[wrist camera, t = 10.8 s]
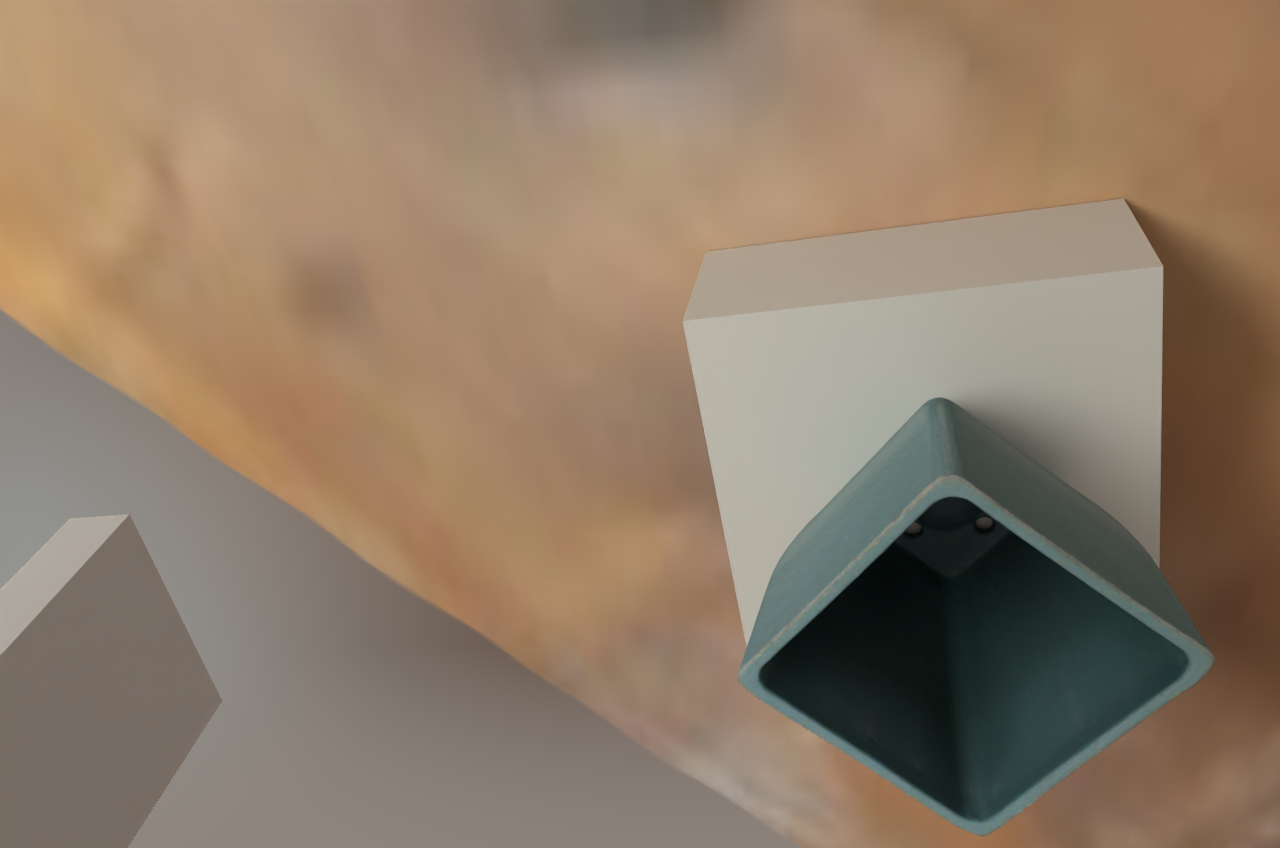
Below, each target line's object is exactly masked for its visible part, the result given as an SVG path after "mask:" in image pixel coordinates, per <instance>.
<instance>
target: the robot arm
mask: <svg viewBox="0 0 1280 848" xmlns="http://www.w3.org/2000/svg"><path fill="white" fill-rule="evenodd" d="M221 702H222V699H221V697H220V695H219V693H218V691H217V689H216V687H215V685H214V683H213V681H212V679H211V677H210V675H209V673H208V671H207V669H206V667H205V665H204V663H203V661H202V659H201V657H200V655H199V653H198V651H197V649H196V647H195V645H194V643H193V641H192V639H191V637H190V635H189V633H188V631H187V629H186V627H185V625H184V623H183V621H182V619H181V617H180V615H179V613H178V611H177V609H176V607H175V605H174V603H173V601H172V599H171V597H170V595H169V593H168V591H167V589H166V587H165V585H164V582H163V581H162V579H161V576H160V574H159V572H158V570H157V568H156V567H155V564H154V562H153V560H152V558H151V556H150V554H149V552H148V550H147V548H146V546H145V544H144V542H143V540H142V538H141V536H140V534H139V532H138V530H137V528H136V526H135V524H134V522H133V520H132V518H131V516H130V514H126V515H113V516H100V517H87V518H75V519H69V520H68V521H67V522H66V523H65V524H64V525H63V526H62V527H61V528H60V529H59V530H58V531H57V532H56V533H55V534H54V535H53V536H52V537H51V538H50V539H49V540H48V541H47V543H46V544H45V545H44V546H42V548H40V549H39V551H38V552H37V553H36V554H35V555H34V556H33V557H32V558H31V559H30V560H29V561H28V562H27V563H26V564H25V565H24V566H23V567H22V568H21V569H20V570H19V571H18V572H17V573H16V574H15V575H14V576H13V577H12V578H11V579H10V580H9V581H8V582H7V583H6V584H5V585H4V586H3V587H2V588H1V589H0V848H128V846H129V844H130V843H131V841H132V840H133V838H134V837H135V835H136V834H137V832H138V830H139V829H140V827H141V826H142V824H143V823H144V821H145V820H146V818H147V817H148V815H149V813H150V812H151V810H152V809H153V807H154V806H155V804H156V803H157V801H158V799H159V798H160V796H161V795H162V793H163V792H164V790H165V789H166V787H167V786H168V784H169V783H170V781H171V779H172V778H173V776H174V775H175V773H176V771H177V770H178V769H179V767H180V765H181V764H182V762H183V761H184V759H185V758H186V756H187V754H188V753H189V752H190V750H191V748H192V747H193V745H194V744H195V742H196V741H197V739H198V738H199V736H200V734H201V733H202V731H203V730H204V728H205V727H206V725H207V724H208V722H209V721H210V719H211V717H212V716H213V714H214V713H215V711H216V710H217V708H218V707H219V705H220V703H221Z"/></svg>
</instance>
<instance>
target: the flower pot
mask: <svg viewBox="0 0 1280 848" xmlns="http://www.w3.org/2000/svg"><path fill="white" fill-rule="evenodd" d="M982 517H988V518H990V519H991V520H992V521H993V523H992V525H991V527H990V528H986V529H981V528H979V527H978V526H977V525H976V521H977V520H978V519H979V518H982ZM914 522H916V523H918V524H919V525H921V530H920V532H918V533H916V534H910V533H908V532H907V531H906V530H907V529H908V528H909V527H910V526H911V525H912V524H913V523H914ZM1214 663H1215V659H1214V657H1213V655H1212V653H1211V651H1210V649H1209V648H1208V646H1207V645H1206V643H1205V641H1204V640H1203V638H1202V636H1201V635H1200V633H1199V632H1198V630H1197V628H1196V627H1195V625H1194V623H1193V622H1192V620H1191V619H1190V617H1189V615H1188V614H1187V612H1186V610H1185V609H1184V607H1183V606H1182V604H1181V602H1180V601H1179V599H1178V597H1177V596H1176V594H1175V593H1174V591H1173V590H1172V588H1171V586H1170V585H1169V583H1168V582H1167V580H1166V579H1165V577H1164V575H1163V574H1162V572H1161V571H1160V569H1159V568H1158V566H1157V565H1156V563H1155V562H1154V560H1153V559H1152V557H1151V556H1150V554H1149V553H1148V552H1147V551H1146V549H1145V548H1144V547H1143V546H1142V545H1141V544H1140V543H1139V541H1138V540H1137V539H1136V538H1135V537H1134V536H1133V535H1132V534H1131V533H1130V532H1129V531H1128V530H1127V529H1126V528H1125V527H1124V526H1123V525H1122V524H1121V523H1119V522H1118V521H1117V520H1116V519H1115V518H1114V517H1112V516H1111V515H1110V514H1109V513H1107V512H1106V511H1105V510H1103V509H1102V508H1101V507H1099V506H1098V505H1097V504H1095V503H1094V502H1093V501H1091V500H1090V499H1088V498H1087V497H1086V496H1084V495H1083V494H1081V493H1080V492H1078V491H1077V490H1075V489H1074V488H1072V487H1071V486H1069V485H1068V484H1067V483H1065V482H1064V481H1062V480H1061V479H1060V478H1058V477H1057V476H1055V475H1054V474H1052V473H1051V472H1050V471H1048V470H1047V469H1045V468H1044V467H1043V466H1041V465H1040V464H1038V463H1037V462H1036V461H1034V460H1033V459H1031V458H1030V457H1029V456H1027V455H1026V454H1024V453H1023V452H1022V451H1020V450H1019V449H1017V448H1016V447H1015V446H1013V445H1012V444H1010V443H1009V442H1008V441H1006V440H1005V439H1003V438H1002V437H1001V436H999V435H998V434H997V433H995V432H994V431H992V430H991V429H990V428H988V427H987V426H985V425H984V424H983V423H981V422H980V421H979V420H977V419H976V418H975V417H973V416H972V415H971V414H969V413H968V412H966V411H965V410H964V409H962V408H961V407H960V406H958V405H957V404H955V403H954V402H952V401H951V400H949V399H946V398H942V397H938V398H933V399H930V400H928V401H927V402H926V403H924V404H923V405H922V406H921V407H920V408H919V409H918V410H917V411H916V412H915V413H914V414H913V415H912V416H911V417H910V418H909V420H908V421H907V422H906V423H905V424H904V425H903V426H902V427H901V428H900V429H899V430H898V431H897V432H896V433H895V434H894V435H893V436H892V437H891V438H890V439H889V440H888V441H887V442H886V443H885V445H884V446H883V447H882V448H881V449H880V450H879V451H878V452H877V453H876V454H875V455H874V456H873V457H872V458H871V459H870V460H869V461H868V462H867V463H866V464H865V466H864V467H863V468H862V469H861V470H860V471H859V472H858V473H857V474H856V475H855V476H854V477H853V478H852V479H851V480H850V481H849V482H848V483H847V484H846V485H845V486H844V487H843V488H842V489H841V490H840V491H839V492H838V493H837V494H836V495H835V497H834V498H833V499H832V500H831V501H830V502H829V503H828V504H827V505H826V506H825V507H824V508H823V509H822V510H821V511H820V512H819V513H818V514H817V515H816V516H815V517H814V518H813V519H812V520H811V521H810V522H809V523H808V524H807V525H806V526H805V527H804V528H803V529H802V530H801V531H800V533H799V534H798V535H797V536H796V537H795V539H794V540H793V541H792V542H791V543H790V545H789V546H788V547H787V549H786V550H785V552H784V553H783V555H782V556H781V558H780V560H779V561H778V563H777V565H776V567H775V569H774V571H773V573H772V576H771V578H770V581H769V583H768V586H767V589H766V591H765V594H764V597H763V600H762V603H761V606H760V609H759V612H758V615H757V618H756V621H755V624H754V627H753V630H752V633H751V636H750V639H749V642H748V645H747V648H746V651H745V654H744V657H743V660H742V663H741V666H740V669H739V671H738V682H739V683H740V684H741V685H742V686H743V687H744V688H745V689H746V690H747V691H749V692H750V693H751V694H752V695H754V696H755V697H757V698H758V699H759V700H761V701H762V702H763V703H766V704H767V705H768V706H770V707H772V708H773V709H775V710H776V711H778V712H780V713H782V714H783V715H784V716H786V717H788V718H789V719H791V720H792V721H794V722H796V723H798V724H799V725H801V726H802V727H804V728H806V729H807V730H809V731H811V732H812V733H814V734H816V735H817V736H819V738H822V739H824V740H825V741H826V742H828V743H830V744H832V745H833V746H835V747H836V748H837V749H839V750H841V751H842V752H844V753H845V754H847V755H849V756H850V757H852V758H853V759H854V760H857V761H858V762H860V763H861V764H863V765H865V766H866V767H868V768H869V769H871V770H872V771H874V772H875V773H877V774H878V775H879V776H880V777H882V778H884V779H886V780H888V781H889V782H890V783H892V784H893V785H894V786H896V787H897V788H898V789H900V790H902V791H903V792H904V793H906V794H907V795H909V796H910V797H912V798H914V799H916V800H917V801H918V802H920V803H921V804H923V805H924V806H926V807H927V808H929V809H931V810H932V811H933V812H935V813H936V814H938V815H939V816H941V817H942V818H944V819H946V820H947V821H949V822H950V823H952V824H954V825H955V826H956V827H959V828H961V829H963V830H965V831H968V832H970V833H973V834H976V835H979V836H986V835H988V834H990V833H991V832H993V831H995V830H996V829H998V828H999V827H1001V826H1004V825H1005V824H1006V823H1007V822H1008V821H1009V820H1010V819H1012V818H1013V817H1015V816H1016V815H1017V814H1019V813H1021V812H1022V811H1023V810H1024V809H1025V808H1027V807H1028V806H1030V805H1031V804H1033V803H1034V802H1035V801H1036V800H1037V799H1038V798H1040V797H1041V796H1043V794H1044V793H1045V792H1046V791H1048V790H1050V789H1052V788H1053V787H1054V786H1055V785H1056V784H1057V783H1059V782H1060V781H1062V780H1063V779H1064V778H1066V777H1067V776H1069V775H1070V774H1071V773H1073V772H1074V771H1075V770H1076V769H1077V768H1079V767H1081V766H1082V765H1083V764H1084V763H1086V762H1088V761H1089V760H1090V759H1091V758H1093V757H1094V756H1096V755H1097V754H1098V753H1100V752H1101V751H1102V750H1104V749H1105V748H1106V747H1108V746H1109V745H1111V744H1112V743H1113V742H1114V741H1116V740H1117V739H1118V738H1120V737H1121V736H1123V735H1124V734H1125V733H1127V732H1128V731H1130V730H1131V729H1132V728H1133V727H1135V726H1136V725H1137V724H1138V723H1140V722H1141V721H1143V720H1144V719H1146V718H1147V717H1149V716H1150V715H1151V714H1153V713H1154V712H1155V711H1156V710H1158V709H1160V708H1161V707H1163V706H1164V705H1165V704H1167V703H1168V702H1169V701H1171V700H1172V699H1174V698H1175V697H1178V696H1179V695H1180V694H1181V693H1183V692H1184V691H1185V690H1187V689H1189V688H1191V687H1192V686H1194V685H1195V684H1196V683H1197V682H1198V681H1200V680H1201V679H1202V678H1203V677H1204V676H1205V675H1206V674H1207V673H1208V672H1209V670H1210V669H1211V667H1212V666H1213V664H1214Z"/></svg>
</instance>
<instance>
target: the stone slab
mask: <svg viewBox="0 0 1280 848" xmlns="http://www.w3.org/2000/svg"><path fill="white" fill-rule="evenodd" d="M683 325H684V330H685V335H686V340H687V345H688V350H689V355H690V361H691V366H692V371H693V376H694V381H695V386H696V391H697V396H698V401H699V406H700V412H701V417H702V422H703V427H704V432H705V437H706V442H707V447H708V452H709V457H710V463H711V468H712V473H713V478H714V483H715V488H716V493H717V498H718V503H719V508H720V514H721V519H722V524H723V529H724V534H725V539H726V544H727V549H728V554H729V559H730V565H731V570H732V575H733V580H734V585H735V590H736V595H737V600H738V605H739V610H740V616H741V621H742V626H743V631H744V636H745V641H746V646H747V645H748V642H749V639H750V636H751V633H752V630H753V627H754V624H755V621H756V618H757V615H758V612H759V609H760V606H761V603H762V600H763V597H764V594H765V591H766V589H767V586H768V583H769V581H770V578H771V576H772V573H773V571H774V569H775V567H776V565H777V563H778V561H779V560H780V558H781V556H782V555H783V553H784V552H785V550H786V549H787V547H788V546H789V545H790V543H791V542H792V541H793V540H794V539H795V537H796V536H797V535H798V534H799V533H800V531H801V530H802V529H803V528H804V527H805V526H806V525H807V524H808V523H809V522H810V521H811V520H812V519H813V518H814V517H815V516H816V515H817V514H818V513H819V512H820V511H821V510H822V509H823V508H824V507H825V506H826V505H827V504H828V503H829V502H830V501H831V500H832V499H833V498H834V497H835V495H836V494H837V493H838V492H839V491H840V490H841V489H842V488H843V487H844V486H845V485H846V484H847V483H848V482H849V481H850V480H851V479H852V478H853V477H854V476H855V475H856V474H857V473H858V472H859V471H860V470H861V469H862V468H863V467H864V466H865V464H866V463H867V462H868V461H869V460H870V459H871V458H872V457H873V456H874V455H875V454H876V453H877V452H878V451H879V450H880V449H881V448H882V447H883V446H884V445H885V443H886V442H887V441H888V440H889V439H890V438H891V437H892V436H893V435H894V434H895V433H896V432H897V431H898V430H899V429H900V428H901V427H902V426H903V425H904V424H905V423H906V422H907V421H908V420H909V418H910V417H911V416H912V415H913V414H914V413H915V412H916V411H917V410H918V409H919V408H920V407H921V406H922V405H923V404H924V403H926V402H927V401H928V400H930V399H933V398H938V397H942V398H946V399H949V400H951V401H952V402H954V403H955V404H957V405H958V406H960V407H961V408H962V409H964V410H965V411H966V412H968V413H969V414H971V415H972V416H973V417H975V418H976V419H977V420H979V421H980V422H981V423H983V424H984V425H985V426H987V427H988V428H990V429H991V430H992V431H994V432H995V433H997V434H998V435H999V436H1001V437H1002V438H1003V439H1005V440H1006V441H1008V442H1009V443H1010V444H1012V445H1013V446H1015V447H1016V448H1017V449H1019V450H1020V451H1022V452H1023V453H1024V454H1026V455H1027V456H1029V457H1030V458H1031V459H1033V460H1034V461H1036V462H1037V463H1038V464H1040V465H1041V466H1043V467H1044V468H1045V469H1047V470H1048V471H1050V472H1051V473H1052V474H1054V475H1055V476H1057V477H1058V478H1060V479H1061V480H1062V481H1064V482H1065V483H1067V484H1068V485H1069V486H1071V487H1072V488H1074V489H1075V490H1077V491H1078V492H1080V493H1081V494H1083V495H1084V496H1086V497H1087V498H1088V499H1090V500H1091V501H1093V502H1094V503H1095V504H1097V505H1098V506H1099V507H1101V508H1102V509H1103V510H1105V511H1106V512H1107V513H1109V514H1110V515H1111V516H1112V517H1114V518H1115V519H1116V520H1117V521H1118V522H1119V523H1121V524H1122V525H1123V526H1124V527H1125V528H1126V529H1127V530H1128V531H1129V532H1130V533H1131V534H1132V535H1133V536H1134V537H1135V538H1136V539H1137V540H1138V541H1139V543H1140V544H1141V545H1142V546H1143V547H1144V548H1145V549H1146V551H1147V552H1148V553H1149V554H1150V556H1151V557H1152V559H1153V560H1154V562H1155V563H1156V565H1157V566H1158V568H1159V569H1160V494H1161V412H1162V331H1163V265H1162V263H1161V261H1160V260H1159V258H1158V256H1157V255H1156V253H1155V251H1154V249H1153V248H1152V246H1151V244H1150V243H1149V241H1148V239H1147V238H1146V236H1145V234H1144V232H1143V231H1142V229H1141V227H1140V226H1139V224H1138V222H1137V220H1136V219H1135V217H1134V215H1133V214H1132V212H1131V210H1130V208H1129V207H1128V205H1127V203H1126V202H1125V200H1124V198H1123V199H1115V200H1107V201H1099V202H1092V203H1084V204H1076V205H1068V206H1060V207H1053V208H1045V209H1037V210H1029V211H1021V212H1014V213H1006V214H998V215H990V216H982V217H975V218H967V219H959V220H951V221H943V222H936V223H928V224H920V225H912V226H904V227H897V228H889V229H881V230H873V231H865V232H857V233H850V234H842V235H834V236H826V237H818V238H811V239H803V240H795V241H787V242H779V243H772V244H764V245H756V246H748V247H740V248H733V249H725V250H717V251H709V252H706V253H705V256H704V259H703V262H702V265H701V268H700V271H699V274H698V277H697V280H696V283H695V286H694V289H693V292H692V295H691V298H690V301H689V304H688V307H687V310H686V313H685V316H684V319H683ZM992 523H993V521H992V520H991V519H990V518H988V517H982V518H979V519H978V520H977V521H976V525H977V526H978V527H979V528H981V529H986V528H990V527H991V525H992ZM920 530H921V525H919V524H918V523H916V522H914V523H913V524H912V525H911V526H910V527H909V528H908V529H907V530H906V531H907V532H908V533H910V534H916V533H918V532H920Z"/></svg>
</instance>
